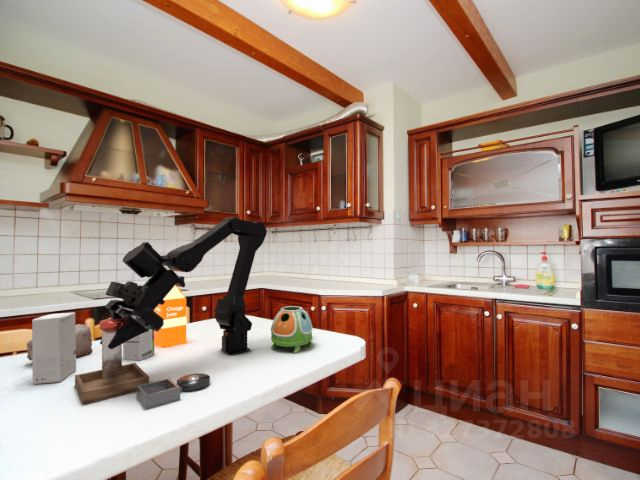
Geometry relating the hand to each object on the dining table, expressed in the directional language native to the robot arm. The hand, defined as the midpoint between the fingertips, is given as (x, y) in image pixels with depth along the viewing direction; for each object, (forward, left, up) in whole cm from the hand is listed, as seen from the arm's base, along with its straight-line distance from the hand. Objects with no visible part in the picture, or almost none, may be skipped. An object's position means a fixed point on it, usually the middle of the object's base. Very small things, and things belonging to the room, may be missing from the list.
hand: (105, 346), depth 77 cm
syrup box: (-11, -19, -10) cm, 24 cm away
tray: (-1, 0, -9) cm, 9 cm away
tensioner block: (-11, +12, -9) cm, 19 cm away
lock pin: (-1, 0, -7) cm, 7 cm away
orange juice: (-22, -28, -10) cm, 37 cm away
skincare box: (+8, -16, -10) cm, 20 cm away
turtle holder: (-50, +1, -10) cm, 51 cm away
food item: (+5, -32, -10) cm, 34 cm away
